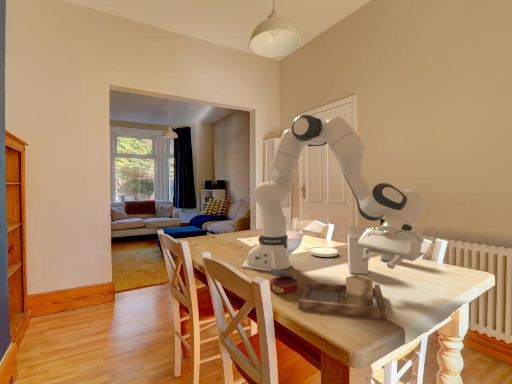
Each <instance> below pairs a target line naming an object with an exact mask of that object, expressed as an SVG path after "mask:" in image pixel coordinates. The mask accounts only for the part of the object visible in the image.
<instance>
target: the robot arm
mask: <svg viewBox="0 0 512 384" xmlns="http://www.w3.org/2000/svg"><path fill="white" fill-rule="evenodd" d="M325 145H328V146H329V149H331V151H332V153H333V154H334V156H335V157H336V160H337V161H338V163H339V166H340V169H341V173H342V174H343V177H344V179H345V180H346V183H347V185H348V187H349V188H350V190H351V192H352V194H353V196H354V198H355V201H356V205H357V210H358V212H359V214H360V216H361V217H362V218H364V219H366V220H367V221H369V222H370V221H371V222H372V221H373V222H376V221H380V219H383V217H384V216H386V217H385V218H384V219H385V220H384V222H383V224H382V226H381V227H373V226H371V228H368V229H367V228H366V231H365V233H364V234H363V235H362V236H361V238H360V239H359V240H358V245H359V246H360V248H361V249H362V250H363V251H364V255H363V257H362V260H363V261H366V262H368V263H369V261H370V259H371V258H370V257H369V254H371V252H372V253H376V254H380V255H381V254H384V255H388V256H392V257H395V258H394V259H393V260H392V261H388V262H386V266H387V268H389V269H392V270H394V269H395V267H396V266H397V265H398V264H400V263H401V262H403V260H406V261H410V262H414V261H416V260H417V259H418V258H419V255H420V253H421V250H422V244H423V243H424V240H425V239H424V237H423V236H422V234H421V232H420V231H419V230H418V229H417V227H415V226H414V224H415V223H416V222H417V221H418V220H419V218H420V215H421V214H422V211H423V208H424V204H425V203H424V198H423V196H422V195H421V194H420V193H419V192H418V191H416V190H414V189H410V188H409V189H406V188H405V189H402V188H398V187H396V186H395V185H392V184H390V183H386V182H381V183H378V184H376V185H374V186H373V187H372V188H371V189H370V188H369V186H368V184H367V182H366V179H365V178H364V176H363V173H362V163H363V158H364V155H365V145H364V143H363V140H362V139H361V138H360V136H359V135H358V133H357V132H356V130H355V129H354V127H352V125H350V123H349V122H348V121H347V120H345V118H343V117H341V116H333V117H331V118H328V119H327V120H326V121H323V120H322V119H321V118H319V117H315V116H314V115H310V114H302V115H298V116H297V117H296V118H295V119H294V120H293V122H292V125H291V128H288V129H286V130H284V131H283V133H282V134H281V137H280V138H279V141H278V143H277V145H276V148H275V151H274V153H273V157H272V160H271V163H270V170H271V171H270V172H271V173H270V181H264V182H262V183H260V184H258V185H257V186H256V187H255V188H254V190H253V194H252V195H253V199H254V201H255V203H256V204H257V205H258V208H259V212H260V215H261V220H262V221H261V223H262V234H261V235H260V236H259V237H258V238H257V239H258V240H257V241H258V242H259V243H258V244H257V245H254V247H253V248H251V249H250V251H248V253H247V258H246V260H243V261H244V262H242V268H244V269H251V270H258V271H265V272H270V270H271V269H279V270H285V269H288V268H290V267H291V266H292V264H291V261H290V258H289V257H290V256H289V250H288V247H289V239H288V237H289V236H288V234H287V231H288V230H287V217H286V216H285V214H284V210H283V207H282V205H283V204H285V203H287V202H288V201H289V200H290V199H291V197H292V194H293V191H292V186H293V185H292V184H293V178H294V174H295V170H296V168H297V164H298V161H299V159H300V155H301V153H302V151H303V148H305V147H306V146H307V147H322V146H325Z"/></svg>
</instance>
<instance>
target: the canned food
mask: <svg viewBox="0 0 512 384" xmlns="http://www.w3.org/2000/svg"><path fill="white" fill-rule="evenodd" d="M268 272H269V274H270V275H272V276H275V277H273V278H271V279H270V280H269V285H270V286H269V288H270V289H269V290H270V291H271V293H274V294H278V295H290V294H291V295H292V294H294V293H296V292H297V291H298V280H297V279H298V277H297V276H295V275H293V274H290V273H288V272H286V271H284V270H283V269H281V270H279V269H271V270H270V271H268Z"/></svg>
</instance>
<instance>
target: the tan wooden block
mask: <svg viewBox="0 0 512 384" xmlns="http://www.w3.org/2000/svg"><path fill="white" fill-rule="evenodd" d="M345 285H346V294H345V297H346V303H345V304H354V305H363V306H373V305H374V296H373V287H374V280H373V278H370V277H367V276H364V275H362V274H354V275H350V276H348V277H345Z"/></svg>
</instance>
